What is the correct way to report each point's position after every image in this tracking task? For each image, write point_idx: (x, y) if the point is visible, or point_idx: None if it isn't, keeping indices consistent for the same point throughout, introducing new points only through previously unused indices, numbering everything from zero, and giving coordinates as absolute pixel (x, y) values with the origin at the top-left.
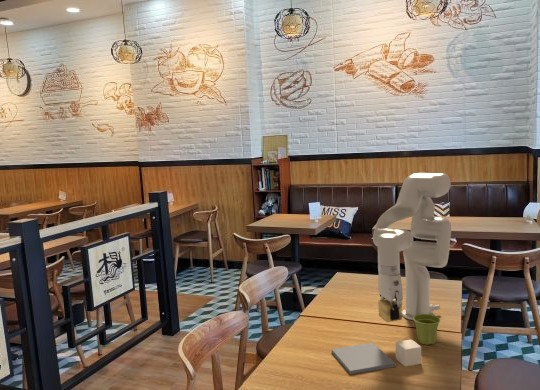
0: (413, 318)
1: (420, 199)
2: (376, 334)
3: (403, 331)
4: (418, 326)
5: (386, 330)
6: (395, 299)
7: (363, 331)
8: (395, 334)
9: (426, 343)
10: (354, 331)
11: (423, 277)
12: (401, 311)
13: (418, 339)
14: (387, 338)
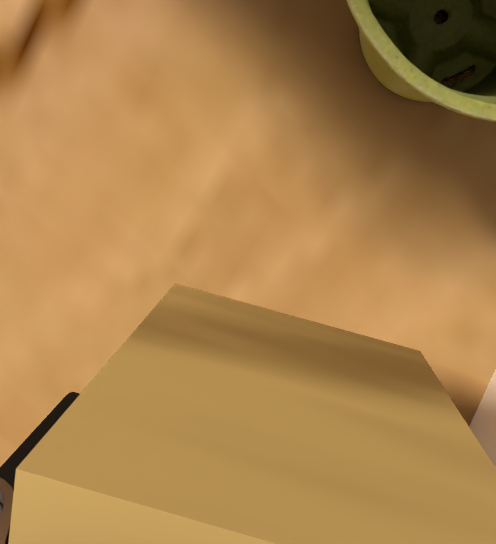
0: (403, 71)
1: None
2: (112, 278)
3: (174, 51)
4: (489, 100)
5: (91, 163)
6: (185, 523)
7: (29, 317)
8: (184, 156)
9: (487, 79)
10: (3, 364)
11: None
12: (475, 446)
13: (406, 96)
14: (206, 261)
